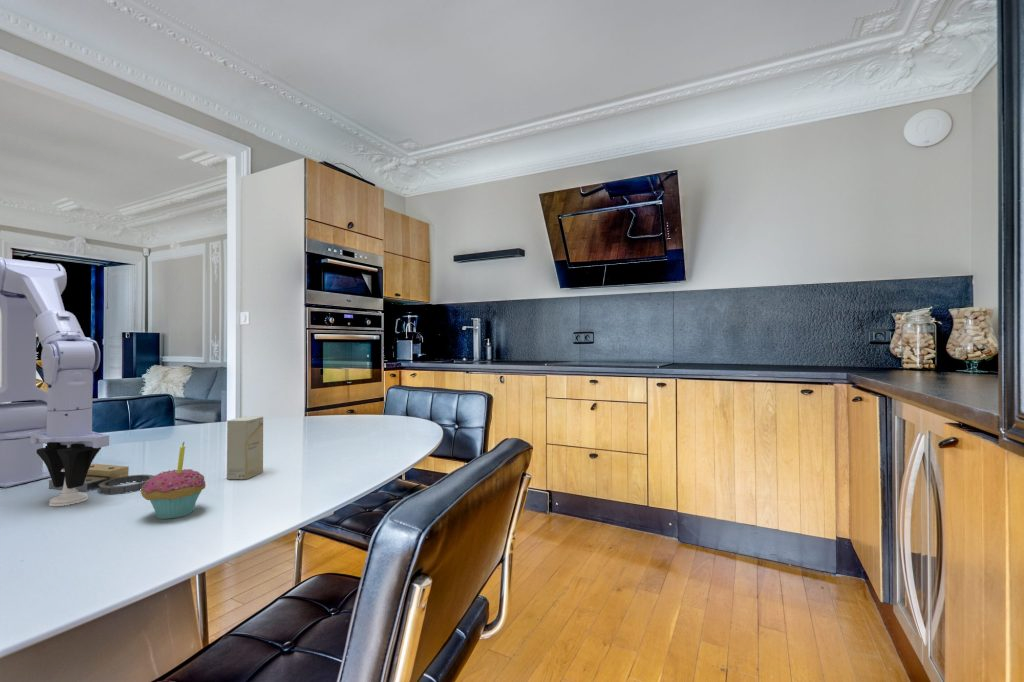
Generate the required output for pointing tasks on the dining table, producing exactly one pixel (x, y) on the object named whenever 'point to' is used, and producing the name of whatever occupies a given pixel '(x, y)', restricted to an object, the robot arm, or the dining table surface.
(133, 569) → the dining table surface
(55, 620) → the dining table surface
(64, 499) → the chess piece
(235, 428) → the skincare box
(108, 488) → the dark gray flat piece
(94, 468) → the tan wooden block
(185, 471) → the cupcake
